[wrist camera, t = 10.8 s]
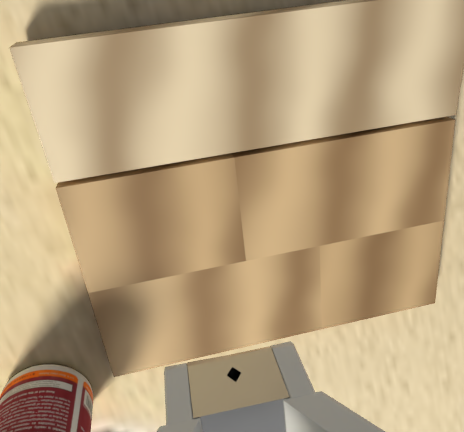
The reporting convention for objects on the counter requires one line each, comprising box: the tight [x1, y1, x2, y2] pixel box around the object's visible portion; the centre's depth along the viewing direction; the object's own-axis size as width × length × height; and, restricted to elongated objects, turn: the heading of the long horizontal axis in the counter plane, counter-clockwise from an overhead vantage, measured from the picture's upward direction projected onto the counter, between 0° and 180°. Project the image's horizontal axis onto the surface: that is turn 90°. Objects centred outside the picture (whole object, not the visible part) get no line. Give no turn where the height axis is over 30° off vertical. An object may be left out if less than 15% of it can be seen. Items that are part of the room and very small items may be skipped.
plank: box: [10, 0, 464, 183], centre depth 25 cm, size 24×7×2 cm, turn 96°
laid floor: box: [56, 117, 455, 377], centre depth 30 cm, size 24×14×2 cm, turn 96°
